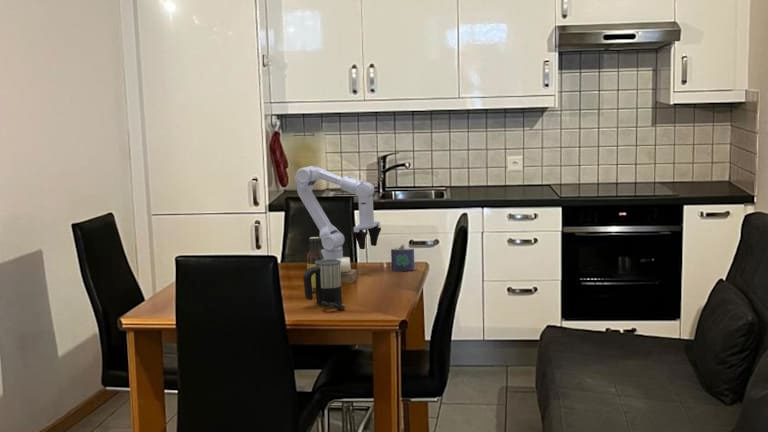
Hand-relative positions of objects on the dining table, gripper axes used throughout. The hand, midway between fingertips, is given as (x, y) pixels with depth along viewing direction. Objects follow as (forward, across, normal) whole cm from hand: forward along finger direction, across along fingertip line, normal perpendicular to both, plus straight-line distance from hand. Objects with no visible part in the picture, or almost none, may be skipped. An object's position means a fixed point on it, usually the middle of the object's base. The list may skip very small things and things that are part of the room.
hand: (368, 247), depth 362 cm
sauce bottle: (+10, -34, -2) cm, 36 cm away
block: (+11, -16, 0) cm, 19 cm away
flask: (+11, +10, -10) cm, 18 cm away
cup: (+6, -16, 0) cm, 17 cm away
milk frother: (+11, -49, -21) cm, 55 cm away
